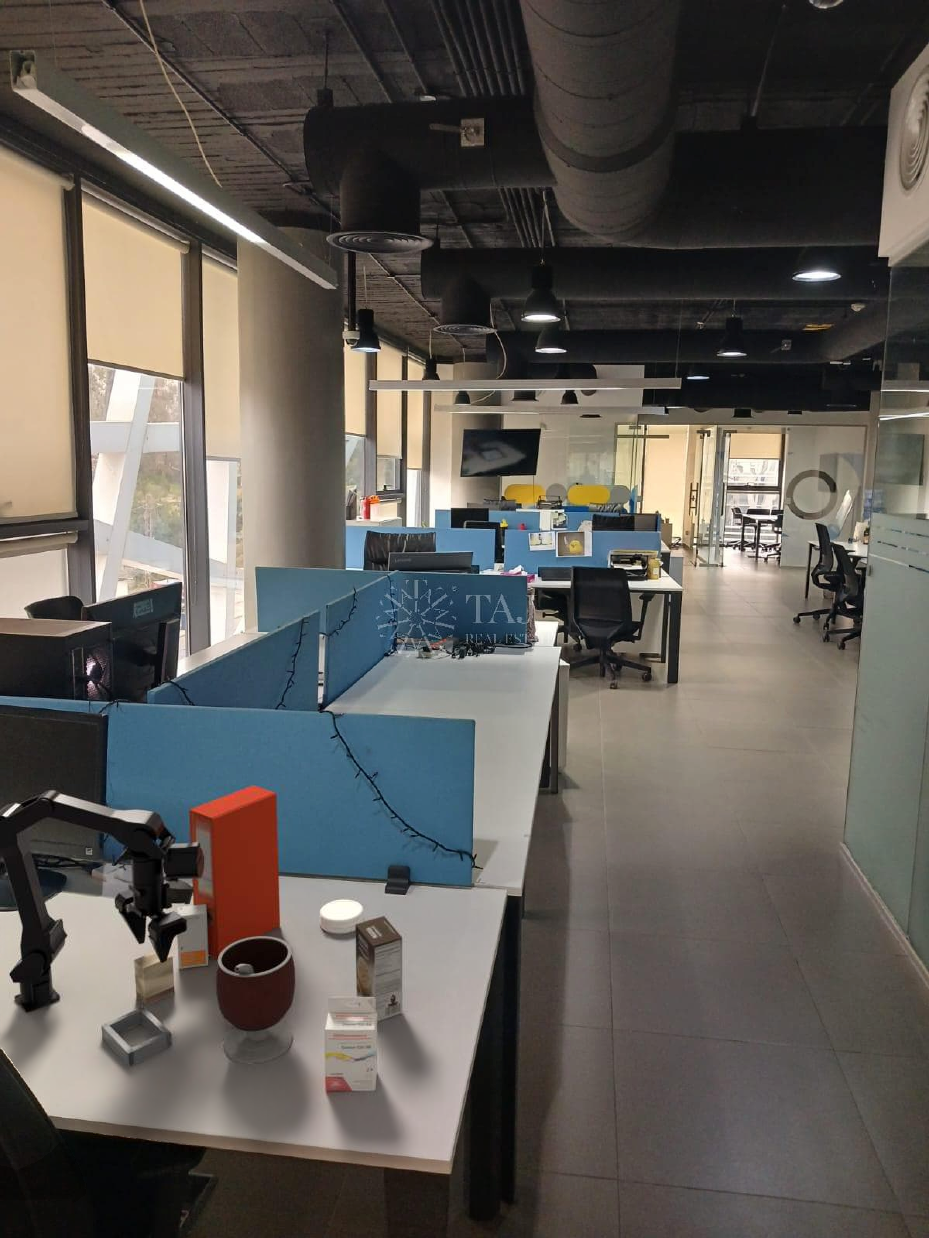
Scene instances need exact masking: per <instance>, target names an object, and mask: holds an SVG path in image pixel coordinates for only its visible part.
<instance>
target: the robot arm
mask: <svg viewBox="0 0 929 1238" xmlns="http://www.w3.org/2000/svg"><path fill="white" fill-rule="evenodd" d="M46 818H49V819H52V820H56V821H60V822H63V823H66V824H69V825H74V826H76V827H81V828H85V829H88V830H90V831H95V832H99V833H102V834H105V835H107V836H109V837H112V838H113V839H114V840H115V841H116V842H118V844H120V845H122V846H123V847H126V848H125V849H124V850H123V851H122V853H121V854H120V855H119V857H118V860H119V861H130V866H131V881H132V882H130V883H128V884H127V885H128V889H126V890H124V891H121V892H118V893H117V894H116V896H115V897H114V907H115V909H117V910H118V914H119V915H120V916H121V918H122V919H123V921H124V922H125V924H126V926H127V927H128V929H129V930H130V932H131V934H132V935H133V937H134V938H135V940H136V942H137V943H138V945H142V944H144V943H145V942H146V935H147V934H146V933H147V932H148V936H147V937H148V939H149V941H150V943H151V945H152V947H153V950H154V952H156V954H157V956H158V958H159V960H160V962H161V963H163V962H166V961H167V958H168V954H169V953H170V951H171V947H172V944H173V941H174V939H175V938H176V937H177V935H179V934H181V933H183V932H185V931H186V930H187V920H186V919H185V918H183V917H182V916H181V915H179V914H178V913H177V911H175V910H174V911H170V912H167V913H166V912H165V911H164V910H165V909H166V910H169V909H172V908H173V904H175V905H176V904H177V905H178V904H181V905H182V904H184V905H190V904H191V900H192V899H193V890H194V888H193V885H192V884H191V885H190V884H189V883H188V882H186V881H183V880H186V879H188V880H190V879H191V880H192V879H196V878H201V877H202V875H203V870H204V854H203V851H202V848H200V843H199V842H193V843H191V842H188V843H175V842H176V840H177V838H176V837H175V835H174V834H173V833H172V832H171V831H170V830H169V829H168V827H167V826H165V822H164V820H163V819H162V817H161V814H159V813H157V812H156V811H152V810H151V811H150V810H143V809H127V810H121V809H116V808H112V807H108V806H106V805H101V804H99V803H98V804H97V803H94V802H91V801H88V800H83V799H81V798H77V797H74V796H71V795H70V796H69V795H66V794H62V793H60V791H58V790H56V789H55V790H51V789H50V790H46V791H45V792H43V793H42V794H40V795H36V796H35V797H31V798H29V799H27V800H24V801H23V802H21V803H17V802H15V803H14V802H13V803H12V802H11V803H9V804H6V805H5V806H4V807H2V808H1V809H0V858H1V859H2V861H3V863H4V868H5V870H6V875H7V877H8V881H9V885H10V888H11V891H12V894H13V898H14V902H15V904H16V905H15V906H16V909H17V913H18V915H19V918H20V923H21V926H22V927H21V937H20V944H19V947H20V948H19V949H20V957H21V958H20V959H19V960H18V962H16V965H15V966H14V967H13V968H12V969H11V971H10V972H9V974H8V975H9V977H10V979H11V980H12V983H13V984H19V994H16V995H14V1000H15V1001H16V1002H17V1004H18V1005H19V1006H20V1007H21V1008H22V1010H23V1011H24V1012H25V1013H29V1012H30V1011H33V1010H36V1009H39V1008H40V1007H44V1006H45V1005H46V1006H47V1004H50V1003H53V1002H55V1001H58V1000H60V999H61V995H60V993H58V992H57V991H56V989H55V988H54V987H53V986H54V985H53V975H52V974H53V973H52V966H51V965H52V964H53V962H54V961H55V960H56V958H57V957H58V955H59V953H60V952H61V951H62V950H63V949H64V946H65V944H66V939H67V937H68V934H67V932H66V931H65V928H64V921H63V919H62V918H59V919H57V920H56V919H53V917H52V916H50V915H49V913H48V908H47V906H46V901H45V898H44V894H43V891H42V887H41V884H40V883H41V882H40V881H39V876H38V873H37V870H36V866H35V862H34V858H33V856H32V855H33V854H32V851H31V841H32V834H33V833H32V832H33V827H32V826H33V825H35V824H37V823H38V822H40V821H42V820H44V819H46ZM158 840H160V843H157V842H158ZM164 875H165V876H164ZM147 918H149V919H150V922H149V923H148V924H147ZM146 929H147V930H146Z"/></svg>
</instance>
